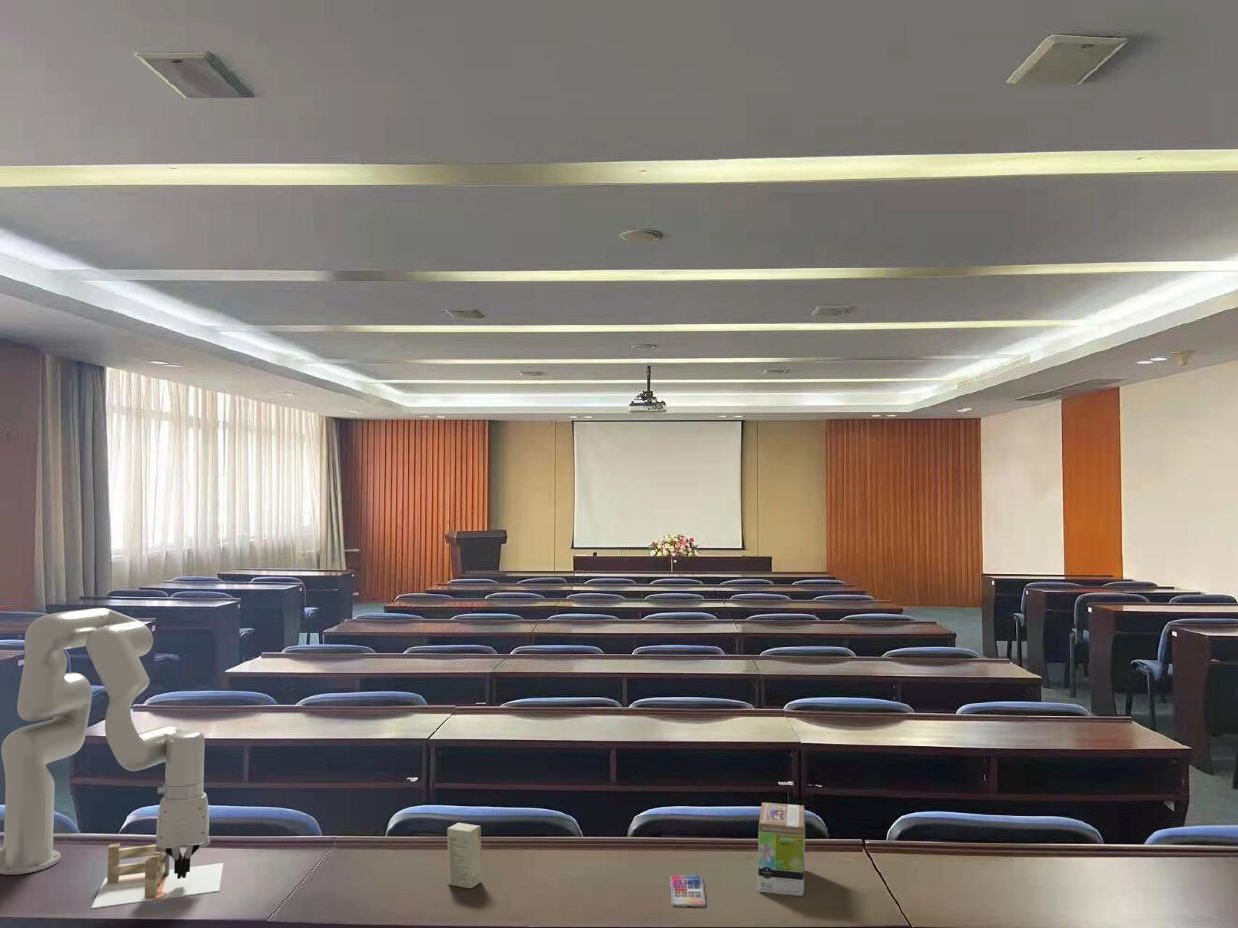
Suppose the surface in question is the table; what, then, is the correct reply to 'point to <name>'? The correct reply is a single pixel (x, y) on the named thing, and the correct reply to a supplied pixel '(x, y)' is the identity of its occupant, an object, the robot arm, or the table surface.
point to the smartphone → (687, 891)
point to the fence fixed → (133, 868)
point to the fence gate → (154, 873)
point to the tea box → (781, 849)
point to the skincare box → (464, 855)
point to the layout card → (160, 886)
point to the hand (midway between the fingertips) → (182, 875)
